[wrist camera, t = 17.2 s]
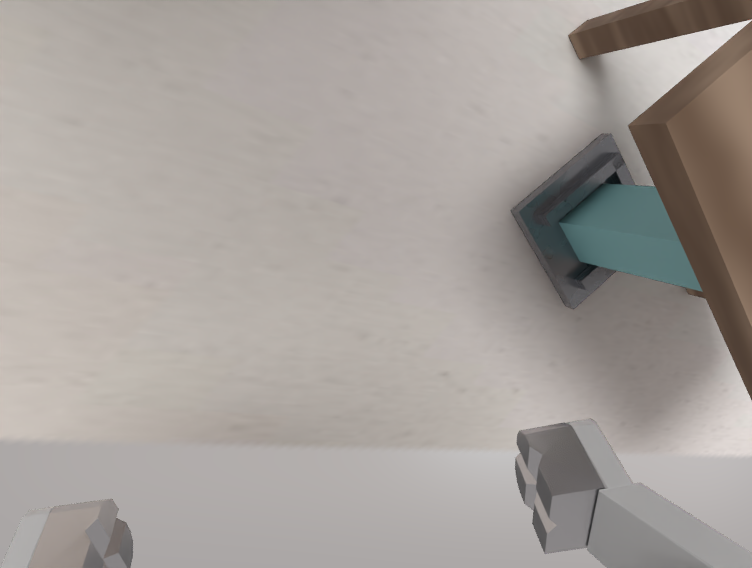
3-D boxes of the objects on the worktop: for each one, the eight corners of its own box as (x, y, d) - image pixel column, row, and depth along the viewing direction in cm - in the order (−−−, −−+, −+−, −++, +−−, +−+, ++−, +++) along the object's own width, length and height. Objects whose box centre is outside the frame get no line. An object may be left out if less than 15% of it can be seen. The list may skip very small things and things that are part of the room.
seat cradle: (565, 306, 48) (582, 312, 46) (510, 210, 44) (526, 213, 43) (648, 232, 50) (667, 235, 48) (601, 133, 46) (620, 132, 44)
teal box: (579, 261, 46) (711, 293, 35) (558, 222, 45) (688, 243, 34) (623, 223, 47) (764, 243, 36) (603, 183, 46) (745, 191, 35)
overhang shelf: (588, 387, 51) (831, 517, 32) (438, 138, 41) (665, 123, 23) (703, 280, 53) (991, 344, 35) (587, 20, 43) (902, -80, 25)
